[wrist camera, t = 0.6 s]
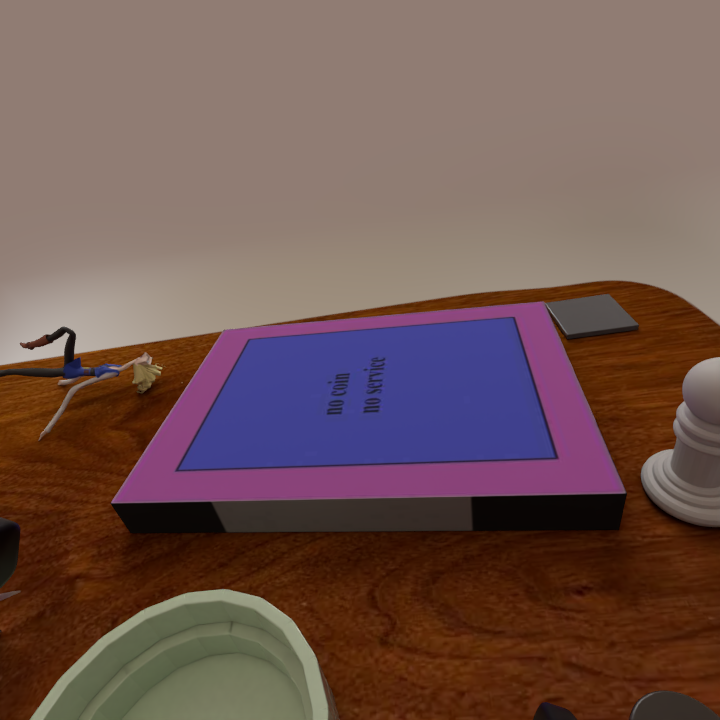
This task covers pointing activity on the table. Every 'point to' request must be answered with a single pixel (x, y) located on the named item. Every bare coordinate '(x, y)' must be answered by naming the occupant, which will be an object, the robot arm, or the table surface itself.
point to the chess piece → (691, 453)
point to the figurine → (83, 370)
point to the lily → (7, 595)
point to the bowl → (196, 666)
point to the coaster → (590, 316)
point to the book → (380, 432)
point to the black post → (670, 707)
